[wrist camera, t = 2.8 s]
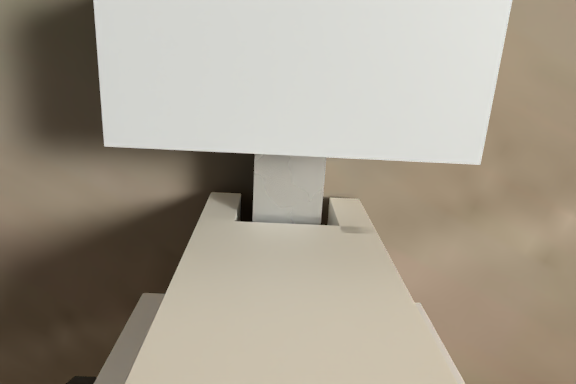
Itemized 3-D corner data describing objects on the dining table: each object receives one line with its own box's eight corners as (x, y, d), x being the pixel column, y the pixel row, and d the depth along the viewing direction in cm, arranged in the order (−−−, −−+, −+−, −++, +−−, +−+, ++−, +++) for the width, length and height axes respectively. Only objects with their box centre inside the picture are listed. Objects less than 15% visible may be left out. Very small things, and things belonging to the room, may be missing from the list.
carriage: (211, 192, 18) (119, 395, 8) (359, 198, 18) (469, 405, 8) (210, 357, 20) (141, 684, 10) (341, 361, 21) (406, 684, 10)
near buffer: (156, -29, 16) (88, -71, 10) (434, -11, 16) (520, -42, 10) (161, 113, 17) (103, 146, 12) (414, 126, 18) (480, 164, 12)
